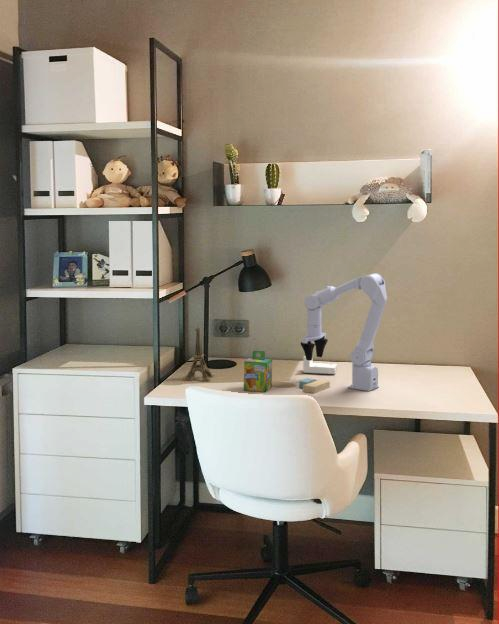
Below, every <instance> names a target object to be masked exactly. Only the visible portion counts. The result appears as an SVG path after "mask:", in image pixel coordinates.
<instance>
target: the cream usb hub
mask: <svg viewBox="0 0 499 624" xmlns="http://www.w3.org/2000/svg"><path fill="white" fill-rule="evenodd" d="M330 387H331V382H330V380H324V379H316V381H313V382H311V383H308V384H305V385H303V388H302V392H305V393H312V394H316V393H319V392H321V391H324V390H327V389H329V388H330Z"/></svg>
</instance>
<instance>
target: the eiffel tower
mask: <svg viewBox="0 0 499 624" xmlns="http://www.w3.org/2000/svg"><path fill="white" fill-rule="evenodd" d="M194 331H195V332H196V333H195V334H196V335H195V344H194V345H195V347H194V354H193V356H192V357H193V361H192V364H191V366H190V367H191V368H190V370H189V371H188V373H187V375H186V376H185V378H184V379H183V380H182V381H183V382H191V381H192V377H193V378H194V377H196V372H200V373H201V374H202V381H201V382H204V383H210V381H211V379H210V378H214V377H215V375H214V374H213V373H212V371H211V370H210V369H209V368H208V366H207V363H206V362H205V359H204V356H205V354H204V353H203V348H202V340H201V339H202V338H201V331H202V329H201V327H199V325H197V327H196V328H195V329H194ZM198 360H199V363H198Z"/></svg>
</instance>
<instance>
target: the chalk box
mask: <svg viewBox="0 0 499 624" xmlns="http://www.w3.org/2000/svg"><path fill="white" fill-rule="evenodd" d="M265 352H266V351H265V350H253V351H252V356H250V357H248V358H247V359H246V360H244V364H243V366H244V367H243V391H244V392H259V393H267V392H268V391H269V390H271V388H272V387H273V386H272V384H273V359H272V358H270V357H266V356H265V354H266V353H265ZM258 354H260V356H256V355H258Z"/></svg>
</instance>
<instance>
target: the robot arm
mask: <svg viewBox="0 0 499 624" xmlns="http://www.w3.org/2000/svg"><path fill="white" fill-rule="evenodd" d="M355 289H356V290H362V291H363V292H364V293H365V294H366V295H367V296H368V297H369V299H370V301H371V304H370V308H369V310H368V313H367V317H366V320H365V322H364V326H363V329H362V331H361V335H360V338H359V340H358V341H357V343H356V345H355V347H354V348H353V350H352V351H351V353H350V355H349V359H350V362H351V363H352V365H351V366H352V368H351V369H352V370H351V371H352V372H351V373H352V375H351V385H348V386H347V388H349V389H352V390H353V389H355V390H361V391H366V392H370V391H373V390H375V389H377V388H380V387H379V370H378V367H377V366H374V365H372V362H371V361H372V360H373V358H374V348H375V344H374V341H375V338H376V335H377V332H378V329H379V327H380V323H381V321H382V318H383V314H384V311H385V309H386V306H387V303H388V302H387V301H388V296H387V295H388V294H387V289H386V281H385V280H384V278H383V276H382V275H381V274H379V273H376V272H374V273H371V274H367V275H363V276H360V277H356V278H353V279H351V280H348V281H346V282H345V283H343V284H341V285H338V286H336V287H335V286H333V285H331V286H330V285H327V286H325V287H324V289H322V290H317V291H315V292H314V294H309V295H308V296H306V297H305V299H304V306H305V307H306V334H305V335H304V336H303V337H302V338H301V342H300V346H301V348H302V349H303V352H304V355H305V356H306V360H310V361H311V360H312V355H314V354H313V353H314V349H315V353H316V357H317V358H322V357H323V355H324V350H325V349H326V345H327V343H328V339H327V333H326V332H322V331H323V329H322V328H323V327H322V314H323V313H322V308H323V306H326V305H328V304H330V303H332V302H335V301H337V300H338V299H339V297H340V295H342V294H344V293H348V292H350V291H352V290H355ZM312 342H314V343H312Z"/></svg>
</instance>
